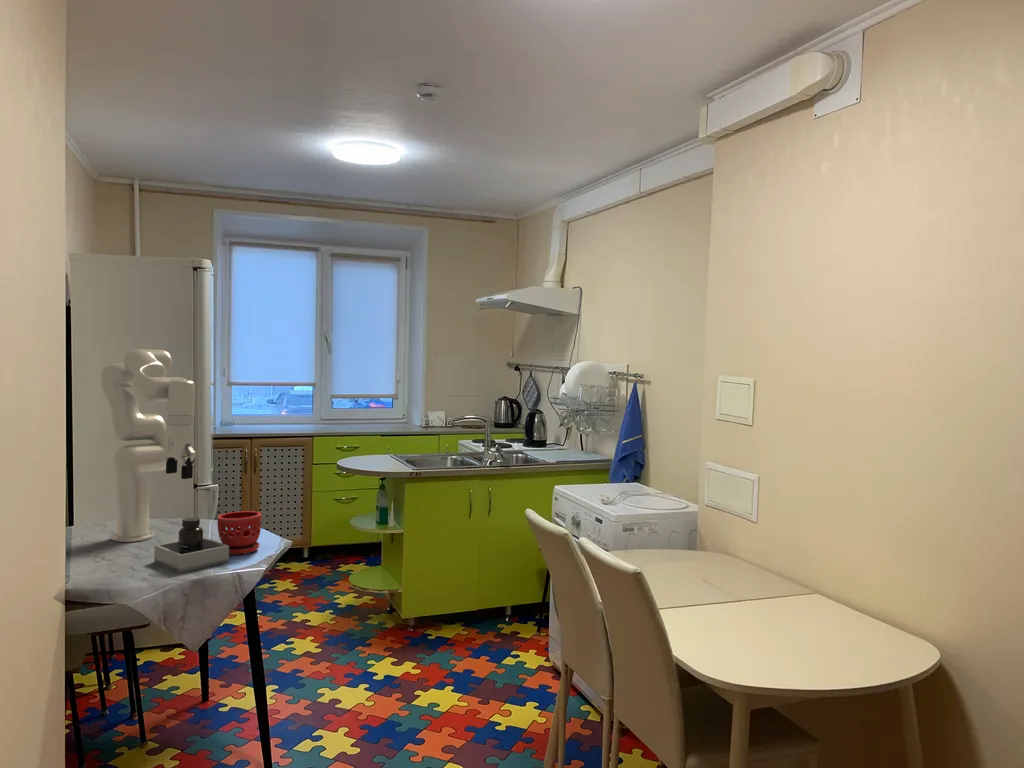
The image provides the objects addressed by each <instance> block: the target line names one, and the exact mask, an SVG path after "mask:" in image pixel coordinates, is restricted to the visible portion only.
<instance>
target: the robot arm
mask: <svg viewBox="0 0 1024 768" xmlns="http://www.w3.org/2000/svg"><path fill="white" fill-rule="evenodd" d="M172 368H173V357H172V356H171V354H170V353H169V352H168V351H166V350H164V349H149V348H148V349H147V348H146V349H145V348H140V349H139V348H136V349H132V350H131V349H130V351H128V352H127V353H125V355H124V356H123V359H122V362H115V363H114V362H113V363H110V364H106V365H105V366H103V368H102V370H101V373H100V382H101V383H100V384H101V389H102V391H103V393H104V396H105V397H106V399H107V402H108V403H109V407H110V412H111V413H110V414H111V419H112V425H113V430H114V435H115V437H116V439H117V440H118V441H119V442H121V443H139V444H130V445H129V444H128V445H125V446H121V447H119V448H117V450H116V451H115V452H114V455H113V462H114V469H115V473H116V485H117V487H116V495H117V497H116V498H117V499H116V501H117V502H116V503H117V504H116V508H117V509H116V510H117V511H116V512H117V515H116V519H117V521H116V523H117V524H116V533H115V534H114V533H113V534H112V535H111V540H112V541H114V542H118V543H131V542H132V543H133V542H140V541H146V540H149V539H152V538H153V537H154V536H155V533H154V531H152V530H150V486H149V485H150V484H149V482H148V481H147V480H146V478H144V476H143V475H142V474H143V473H148V472H159V471H164V470H165V473H166V474H169V475H171V474H176V473H177V472H178V460H180V461H181V463H182V465H181V467H180V468H181V471H180V472H181V473H180V475H181V476H180V478H181V480H187V479H192V478H193V476H194V475H193V474H194V473H193V472H194V463H195V459H196V455H197V453H196V451H195V440H194V439H195V438H194V437H195V436H194V426H195V407H196V406H195V401H196V400H195V399H196V384H195V382H194V381H193V380H191V379H186V378H184V377H179V376H169V377H168V375H169V373H170V372H171V370H172ZM126 388H133V391H134V393H135V394H136V396H138V398H140V399H141V400H143V401H144V402H147V403H148V402H149V403H154V402H167V403H166V404H167V405H166V407H167V408H166V421H165V419H164V417H163V416H162V415H160V414H158V413H141V412H140V407H139V406H140V405H139V401H138V400H137V398H136V397H135V396H134V395H133V394H132V393H131V392H130V391H129V390H127V389H126ZM141 442H144V443H142V444H141ZM145 442H149V443H145Z"/></svg>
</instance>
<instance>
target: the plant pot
mask: <svg viewBox="0 0 1024 768" xmlns="http://www.w3.org/2000/svg"><path fill="white" fill-rule="evenodd" d="M261 527H262V514H261V512H259V511H254V510H253V511H252V510H247V511H246V510H243V511H242V510H241V511H232V512H226V513H222V514H219V515H218V516H217V532H218V535H219V536H218V537H219V539H220V543H223V544H225V545H228V546H229V555H245V554H251V553H250V552H252V553H253V552H255V551H256V550H258V549H259V548H260V543H259V542H258V539H259V537H260V535H261Z"/></svg>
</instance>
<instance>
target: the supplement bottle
mask: <svg viewBox="0 0 1024 768" xmlns="http://www.w3.org/2000/svg"><path fill="white" fill-rule="evenodd" d="M181 523H182V524H181V526H182V527H181V528H180V529H179V530H178V535H177V536H178V538H177V539H178V540H177V541H178V553H179V554H186V553H191V552H196V551H201V550H203V537H204V529H203V528H202V527H201V526H200V525H201V521H200V518H199V517H186V518H183V519H182V520H181Z"/></svg>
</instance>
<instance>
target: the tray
mask: <svg viewBox="0 0 1024 768" xmlns="http://www.w3.org/2000/svg"><path fill="white" fill-rule="evenodd" d="M153 549H154V555H153V556H154V561H153V562H154V563H155V564H158V565H161V566H163V567H165V568H167V569H169V570H172V571H174V572H175V573H179V574H181V573H186V572H190V571H195V570H200V569H205V568H209V567H212V566H213V565H214V566H218V565H221V563H223V564H226V563H225V562H227V563H230V554H229V546H228V545H225V544H223V543H222V542H221V541H220V542H219V541H217V540H214V539H211V538H208V537H206V536H203V550H201V551H196V552H191V553H186V554H179V553H178V540H177V541H173V542H171V541H170V542H165V543H160V544H155V545H154V548H153ZM217 564H218V565H217ZM208 566H209V567H208Z"/></svg>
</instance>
